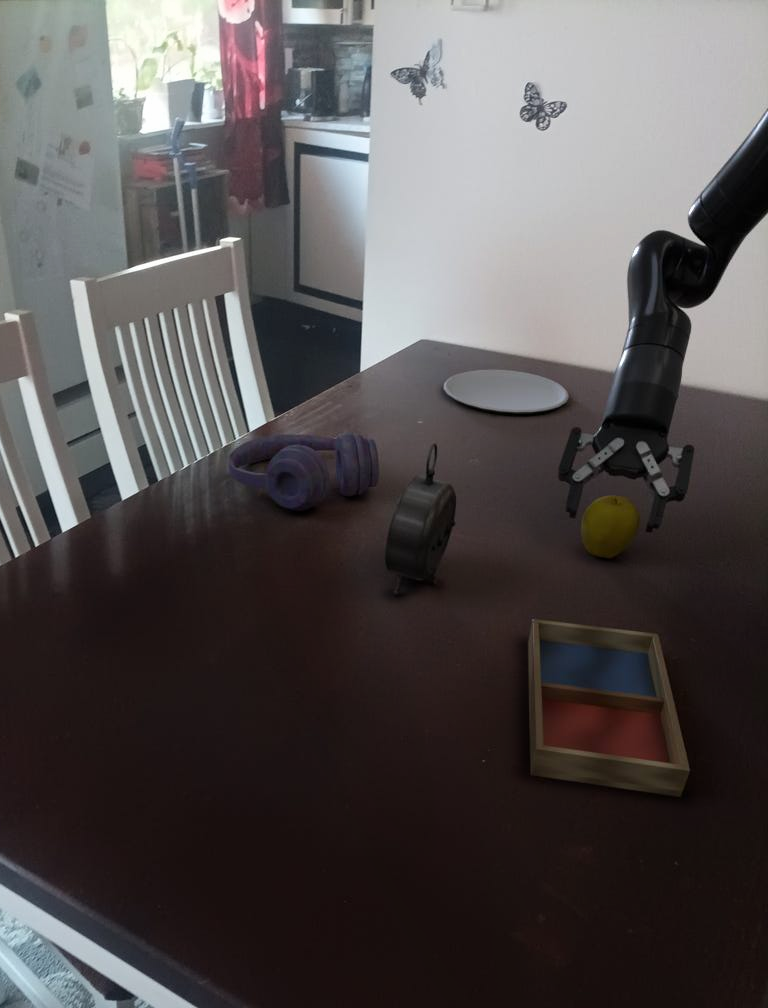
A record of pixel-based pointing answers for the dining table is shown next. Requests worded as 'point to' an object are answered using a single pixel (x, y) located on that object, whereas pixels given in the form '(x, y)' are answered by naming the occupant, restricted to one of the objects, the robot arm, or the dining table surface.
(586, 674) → the sorting tray
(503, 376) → the plate
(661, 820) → the dining table surface
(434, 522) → the alarm clock
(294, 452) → the headphones
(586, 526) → the apple
